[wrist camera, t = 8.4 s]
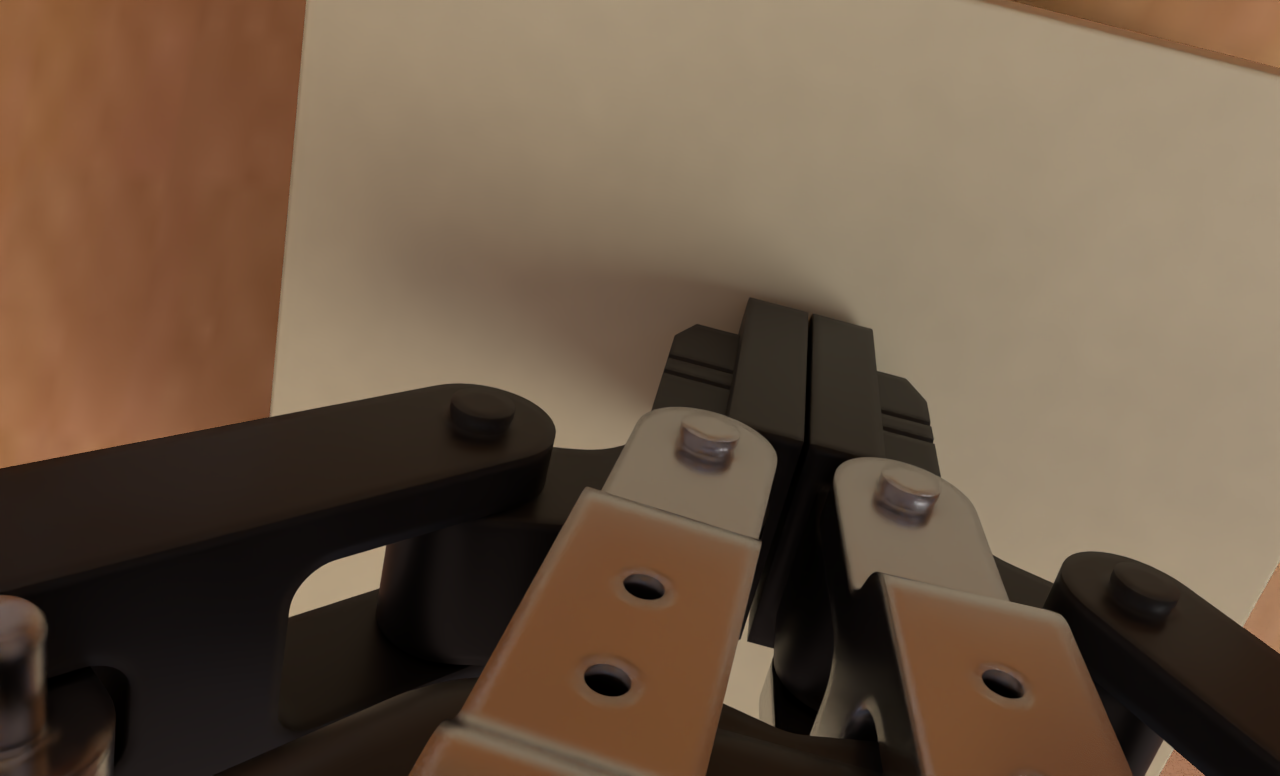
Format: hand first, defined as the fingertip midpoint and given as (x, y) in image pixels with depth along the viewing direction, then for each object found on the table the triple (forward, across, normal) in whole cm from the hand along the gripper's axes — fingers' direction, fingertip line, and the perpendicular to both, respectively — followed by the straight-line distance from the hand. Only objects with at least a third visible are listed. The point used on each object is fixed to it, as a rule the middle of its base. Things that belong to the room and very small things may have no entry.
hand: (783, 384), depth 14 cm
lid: (+1, 0, +3) cm, 3 cm away
